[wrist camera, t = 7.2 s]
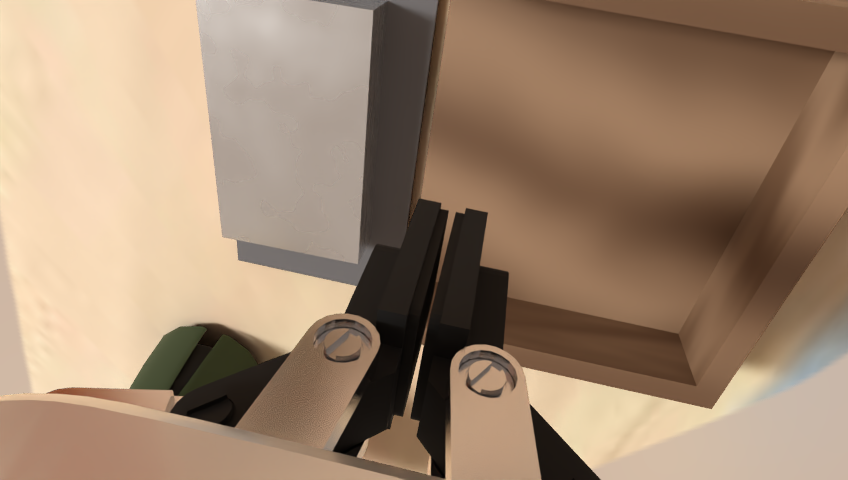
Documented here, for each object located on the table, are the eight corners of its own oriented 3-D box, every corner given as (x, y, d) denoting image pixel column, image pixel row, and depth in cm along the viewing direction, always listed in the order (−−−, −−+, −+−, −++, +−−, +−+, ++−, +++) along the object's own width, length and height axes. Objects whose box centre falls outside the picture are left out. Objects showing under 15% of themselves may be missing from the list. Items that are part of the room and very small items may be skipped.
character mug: (316, 350, 29) (186, 619, 18) (295, 426, 33) (179, 683, 22) (125, 283, 28) (-122, 515, 18) (128, 368, 32) (-73, 599, 22)
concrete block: (223, -26, 19) (193, -19, 17) (387, 0, 18) (373, 10, 17) (243, 214, 24) (222, 236, 23) (370, 239, 24) (357, 264, 22)
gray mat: (212, -138, 17) (208, -138, 17) (452, -99, 17) (451, -98, 16) (241, 256, 26) (238, 259, 26) (398, 290, 25) (397, 294, 25)
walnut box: (463, -67, 17) (447, -60, 14) (878, 3, 16) (968, 28, 13) (410, 280, 25) (392, 337, 22) (686, 339, 24) (711, 408, 21)
